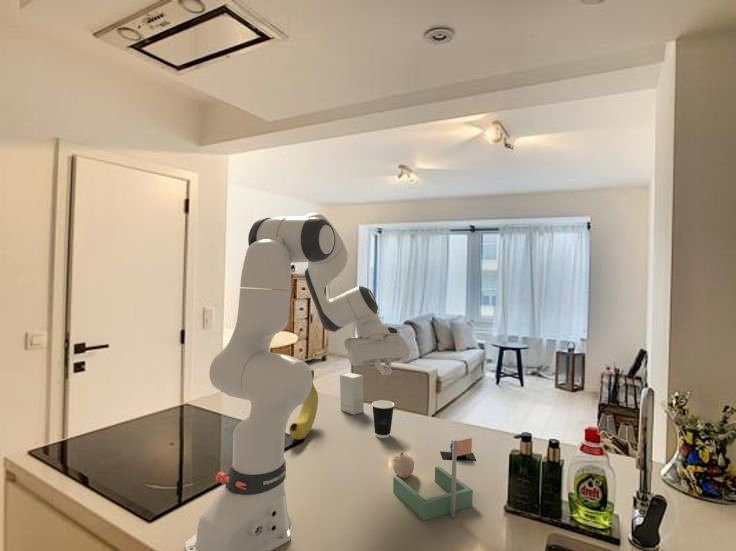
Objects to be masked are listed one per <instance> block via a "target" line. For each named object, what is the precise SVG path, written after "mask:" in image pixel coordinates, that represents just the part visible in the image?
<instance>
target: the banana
mask: <svg viewBox="0 0 736 551" xmlns="http://www.w3.org/2000/svg"><path fill="white" fill-rule="evenodd" d="M310 370H311V372H312V378H313V379H314V378H315V376H314V375H315V371H314V370H313V369H310ZM318 404H319V395H318V391H317V389H316V387H315V385H314V382H313V383H312V388H311V391H310V394H309V395H308V397H307V398H306V400H305V401H304V402H303V403H302V404H301V408H300V411H299V415H298V417H297V419H296V420H295V421H293V423H291V425H290V426H289V430H288V431H289V435H290V437H291V438H292V439H294V440H302V439H303V440H304V439H305V438H306V437H307V436H308V434H310V431H311V429H312V428H313V425H314V423H315V419H316V415H317V412H318V406H319V405H318Z"/></svg>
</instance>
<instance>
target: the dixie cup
mask: <svg viewBox="0 0 736 551" xmlns="http://www.w3.org/2000/svg"><path fill="white" fill-rule="evenodd" d="M371 406H372V415H373V416H372V417H373V424H374V426H373V428H374V433H375V437H377V438H380V439H386V438H389V437H390V434H391V431H392V425H393V424H392V422H393V414H394V408H395V403H394V402H392V401H390V400H375V401H373V402H371Z"/></svg>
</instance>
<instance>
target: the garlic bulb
mask: <svg viewBox="0 0 736 551" xmlns="http://www.w3.org/2000/svg"><path fill="white" fill-rule="evenodd" d="M392 469H393V471H394V474H395V475H396V476H398V477H399V478H400V479H401V478H402V479H408V478H409V477H410V476H411V475H412V474H413V473H414V469H415V461H414V459H413V458H412V456H410V455H408V454H407V453H404V452H403V451H402V452H400V453H397V454H396V455H394V458H393V459H392Z"/></svg>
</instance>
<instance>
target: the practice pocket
mask: <svg viewBox="0 0 736 551" xmlns="http://www.w3.org/2000/svg"><path fill="white" fill-rule="evenodd" d="M452 440H453V446H452V460H451V473H449V472H448V471H447V470H445V469H443V467H440V465H439V466H438V465H437V466H435V467H434V482H435V483H436V484H438V485H439V486H440V487H441V488H442V489H444V490H445V491H447V492H448V493H444V494H441V495H438V496H437V495H436V496H433V497H429V498H427V499H425V498H424V497H423V496H421V494H420V493H419V492H417V491H416V490H414V488H412V487H411V486H410V485H409V484H407V483H406V482H405V481H404V479H403V478H402V479H401V477H400V476H398V475H395V476H393V480H392V481H393V482H392V484H393V487H392V488H393V489H392V492H393V493H394V495H396V496H397V497H398V498H399V500H401V501H402V502H403V503H404V504H405V505H406V506H407V507H408V508H409V509H411V510H412V511H413V513H415V514H416V515H417V516H418V517H419V518H420V519H421V520H422V521H427V520H430V519H433V518H437V517H440V516H442V515H448V514H450V518H452V519H454V518H455V517H456V512H457V511H460V510H463V509H466V508H467V509H468V508H469V507H473V491H474V490H473V489H472V488H471V487H469V486H468V485H467V484H465V483H464V482H462V481H461V480H460V479H458V478H457V461H458V460H457V456H461V455H465V454H470V453H472V441H473V438H472V437H467V438H464V439H452Z"/></svg>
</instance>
